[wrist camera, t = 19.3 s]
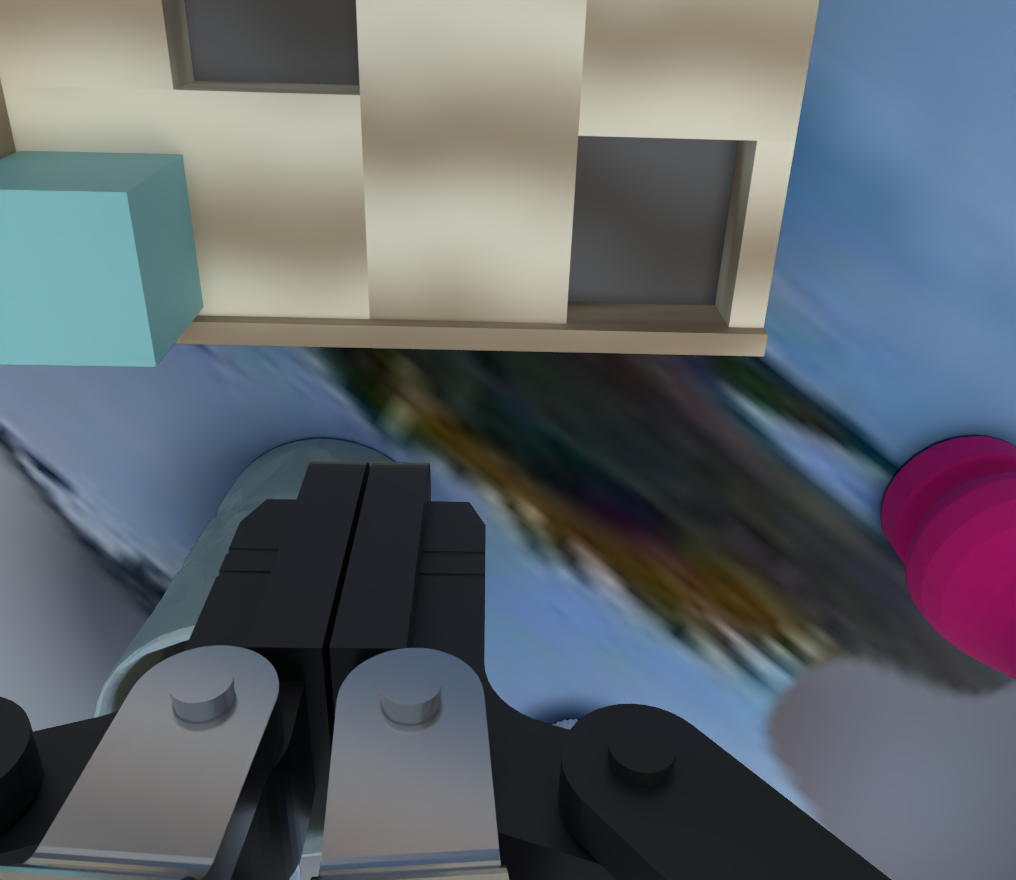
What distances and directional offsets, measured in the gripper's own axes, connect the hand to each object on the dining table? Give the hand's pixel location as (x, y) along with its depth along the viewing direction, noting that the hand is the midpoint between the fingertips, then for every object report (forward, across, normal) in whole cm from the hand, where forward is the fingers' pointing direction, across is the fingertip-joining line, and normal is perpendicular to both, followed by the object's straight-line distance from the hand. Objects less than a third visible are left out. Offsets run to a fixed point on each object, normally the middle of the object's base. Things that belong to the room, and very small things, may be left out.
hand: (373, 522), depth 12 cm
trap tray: (+22, +2, -2) cm, 22 cm away
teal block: (+20, +11, +2) cm, 22 cm away
